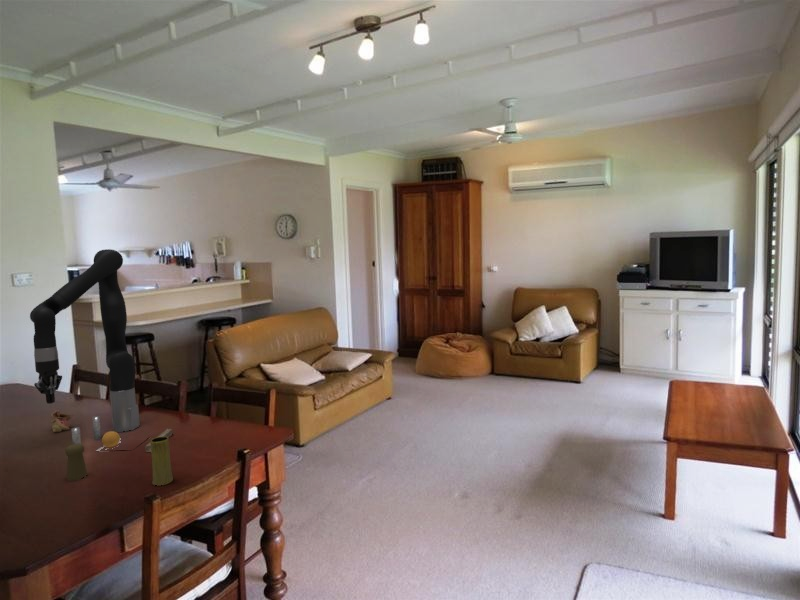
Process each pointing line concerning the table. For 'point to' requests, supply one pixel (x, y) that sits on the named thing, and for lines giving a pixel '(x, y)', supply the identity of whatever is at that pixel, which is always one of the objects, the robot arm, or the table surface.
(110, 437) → the ball
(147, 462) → the table surface
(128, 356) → the robot arm
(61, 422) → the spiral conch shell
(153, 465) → the vase
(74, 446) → the olive green pepper mill
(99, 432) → the right post
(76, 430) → the left post
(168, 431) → the stopper wall
